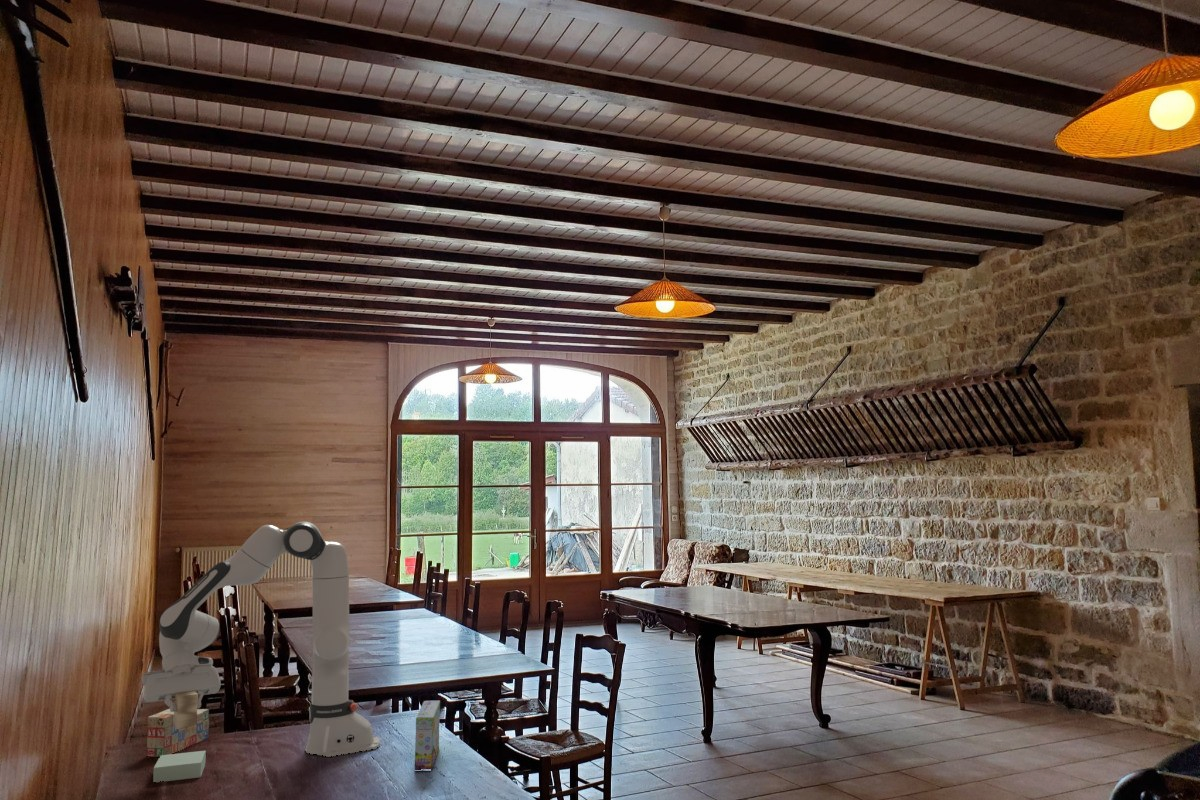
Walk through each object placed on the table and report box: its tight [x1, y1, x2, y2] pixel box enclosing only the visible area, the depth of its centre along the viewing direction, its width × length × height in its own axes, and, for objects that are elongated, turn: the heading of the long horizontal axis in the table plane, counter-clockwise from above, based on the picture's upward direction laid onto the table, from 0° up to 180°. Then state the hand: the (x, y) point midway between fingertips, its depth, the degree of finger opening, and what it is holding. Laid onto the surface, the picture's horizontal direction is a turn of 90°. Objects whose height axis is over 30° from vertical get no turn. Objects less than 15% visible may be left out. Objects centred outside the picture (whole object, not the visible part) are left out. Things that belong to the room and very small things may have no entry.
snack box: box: [414, 699, 441, 770], centre depth 248 cm, size 21×6×15 cm, turn 6°
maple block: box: [173, 691, 199, 729], centre depth 241 cm, size 5×5×9 cm
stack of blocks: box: [146, 708, 210, 756], centre depth 266 cm, size 21×6×12 cm, turn 170°
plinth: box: [152, 750, 207, 783], centre depth 240 cm, size 12×12×4 cm
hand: (186, 708), depth 241 cm, fingers closed on maple block, 5 cm apart
